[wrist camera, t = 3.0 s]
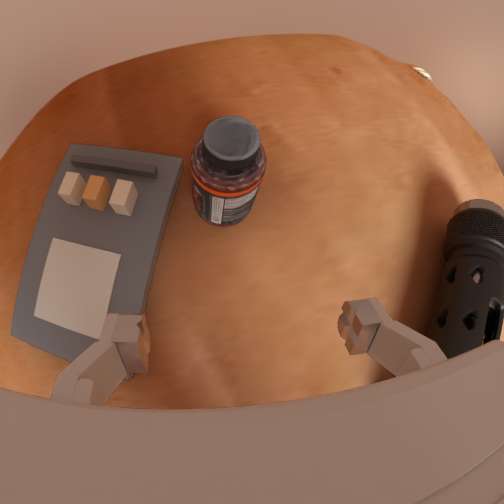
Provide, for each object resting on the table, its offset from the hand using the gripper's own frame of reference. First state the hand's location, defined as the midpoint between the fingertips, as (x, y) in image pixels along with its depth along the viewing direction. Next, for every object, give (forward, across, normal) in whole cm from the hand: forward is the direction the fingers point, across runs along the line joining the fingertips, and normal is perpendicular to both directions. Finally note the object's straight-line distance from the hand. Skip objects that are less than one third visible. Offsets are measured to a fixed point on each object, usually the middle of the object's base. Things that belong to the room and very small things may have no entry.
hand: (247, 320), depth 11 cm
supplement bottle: (+20, 0, +3) cm, 20 cm away
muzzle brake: (+9, -25, +14) cm, 30 cm away
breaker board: (+16, +13, +6) cm, 22 cm away
